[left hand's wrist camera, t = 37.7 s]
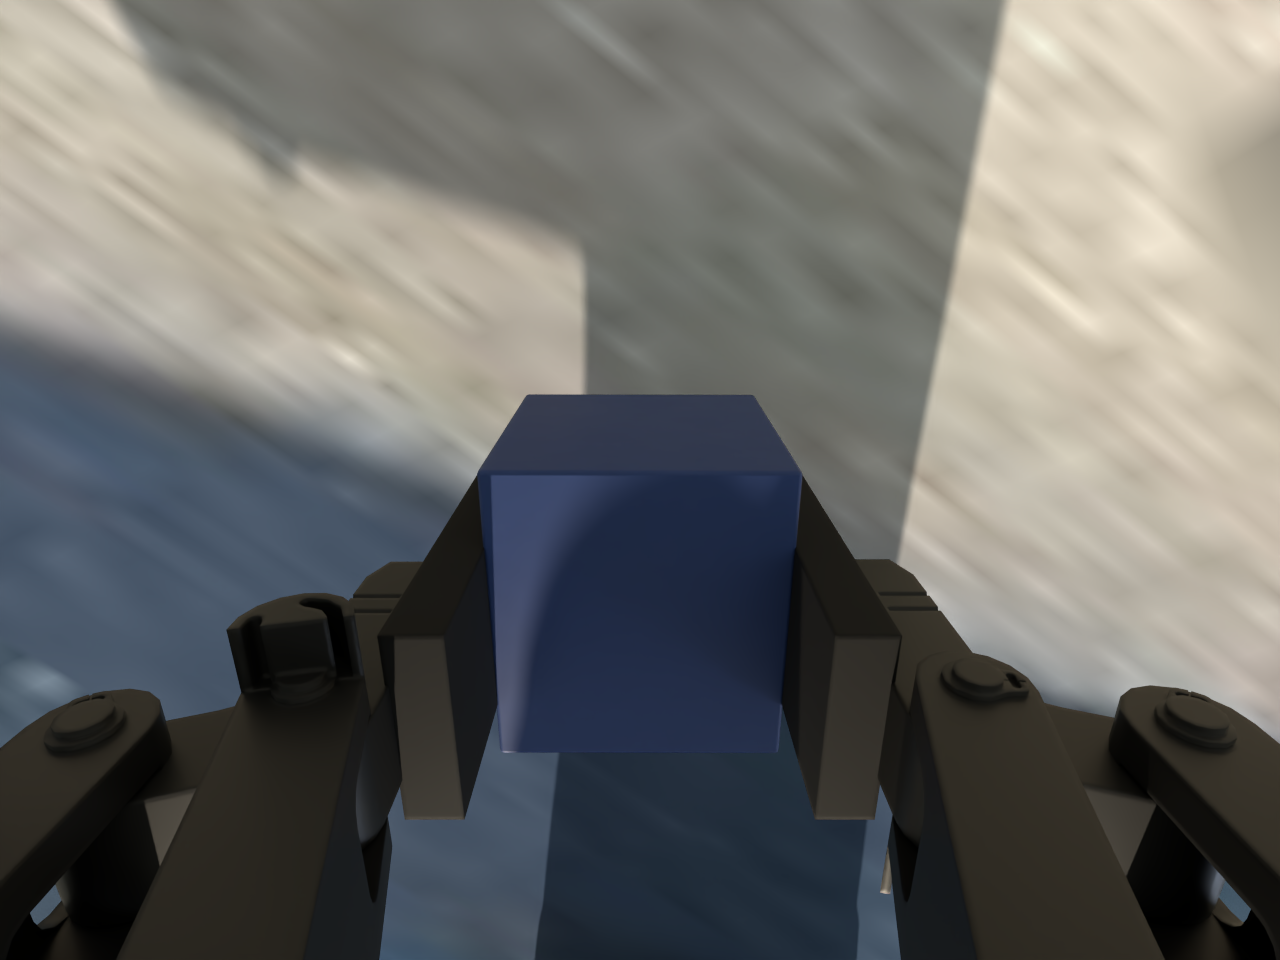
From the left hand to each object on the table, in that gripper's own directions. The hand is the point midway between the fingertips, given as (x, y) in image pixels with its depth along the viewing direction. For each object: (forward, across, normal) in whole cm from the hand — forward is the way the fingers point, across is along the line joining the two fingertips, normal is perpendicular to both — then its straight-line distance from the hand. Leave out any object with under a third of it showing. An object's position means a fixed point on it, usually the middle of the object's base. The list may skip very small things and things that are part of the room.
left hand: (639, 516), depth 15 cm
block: (0, 0, 0) cm, 0 cm away
